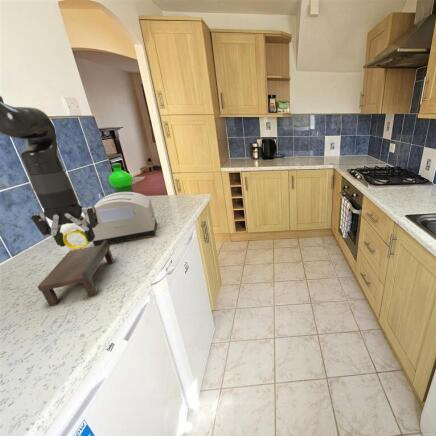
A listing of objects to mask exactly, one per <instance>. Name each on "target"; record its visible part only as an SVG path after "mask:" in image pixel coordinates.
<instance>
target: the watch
mask: <svg viewBox="0 0 436 436" xmlns="http://www.w3.org/2000/svg"><path fill="white" fill-rule="evenodd" d="M73 234H79V235H80V236H82V237H83V238H84V241H85V244H83V245H74V244H72V243H71V242H70V241H68V235H73ZM62 240H63V242H64V244H65V247H67V248H69V249H70V250H76V249H81V248H87V246H88V245H89V243H90V242H88V239H87V237H86V235H85V232H84V230H80V229H78V228H77V227H74V228H70V229H67V230H65V233H64V234H63V239H62Z"/></svg>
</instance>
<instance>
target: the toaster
mask: <svg viewBox="0 0 436 436" xmlns="http://www.w3.org/2000/svg"><path fill="white" fill-rule="evenodd" d="M98 198H99V199H100V200H98V201H97V202H96V203H95V204H94V205H93V206H94V207H95V210H96V215H97V219H98V224H97V226H96V227H95V228H92V229H93V232H94V234H95V238H94V240H93V241H92V243H93V246H99V245H101V244H102V243H103V241H105V240H107V241H108V244H109V245H110V244H115V243H120V242H125V241H131V240H132V241H133V240H137V239H142V238H146V237H147V238H148V237H154V236H156V233H157V227H158V226H157V225H158V221H157V216H156V214H155V210H154V207H153V206H154V205H153V203H152V200H151V198H150V197H149V196H148V195H145V194H142V193H138V192H118V193H116V192H114V193H111V194H108V195H106V196H102V194H101V193H98ZM83 217H84V218H85V219H86V221H87V222H89V217H88V215H86V214H85V216H83ZM89 223H90V222H89Z"/></svg>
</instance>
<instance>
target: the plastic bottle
mask: <svg viewBox="0 0 436 436" xmlns="http://www.w3.org/2000/svg"><path fill="white" fill-rule="evenodd" d="M110 167H111V169H113V172H112V173H111V174H110V175H109V176H108V183H109V185H110V186H111V187H113V189H114V191H115V192H114V193H118V192H134V188H133V186H132V183H133V180H134V178H133V176H132V175H131V174H130V173H128V172H127V171H124V170H123V169H122V167H123V165H122V162H115V163H111V164H110ZM134 193H135V192H134Z"/></svg>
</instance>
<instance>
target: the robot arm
mask: <svg viewBox="0 0 436 436" xmlns="http://www.w3.org/2000/svg"><path fill="white" fill-rule="evenodd" d="M0 134H1V135H3V136H6V137H8V138H11V139H16V140H26V141H27V147H26V148H25V149H23V150H22V151H20V153H19V156H20V160H21V162H22V164H23V167H24V169H25V172H26V173H27V175H28V178H29V182H30V185H31V188H32V190H33V191H34V193H35V195H36V198H37V200H38V202H39V204H40V206H41V207H42V209H43V212H36V213H35V214H33V215H31V217H30V219H31V220H32V222H33V223H34V225H35V226H36V227H37V229H38V230H39V232H40V233H41V235H43V236H52V237H53V239H54V241H55V243H56V245H57V246H60V248H63V247H66V245H65V244H64V242H63V240H62V239H63V235H64V234H63V232H61V230H62V226H63V225H66V224H69V225H72V224H74V225H76V226H77V227H80V228H81V229H82V230H83V232H85V235H86V237H87V239H88V242H89V243H93V240H94V238H95V234H94V232H93V229H92V228H95V227H96V226H97V224H98V219H97V215H96V210H95V207H94V206H95V205H91V206H85V207H83V206H82V205H81V204H80V203H79V199H78V197H77V194H76V192H75V189H74V187H73V184H72V181H71V179H70V177H69V176H68V174H67V172H66V170H65V168H64V165H63V163H62V160H61V157H60V156H59V150H58V149H59V147H58V138H57V131H56V127H55V124H54V123H53V121H52V119H51V118H50V116H49V115H48V114H47V113H46V112H44V111H42V110H41V109H39V108H36V107H32V106H31V107H30V106H29V107H28V106H12V105H9V104H6V103H5V100H4V98H3V97H2V95H0ZM83 213H84V214H85V216H86V215H88V217H89V222H90V223H89V222H87V221H86V219H85V218H84V217H85V216H83V215H82V214H83ZM46 219H48V220H50V221H51V226H50V225H49V222H47V220H46Z"/></svg>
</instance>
